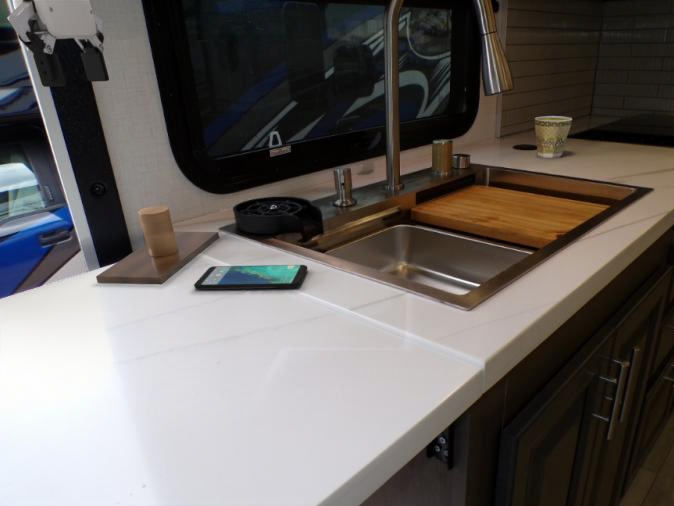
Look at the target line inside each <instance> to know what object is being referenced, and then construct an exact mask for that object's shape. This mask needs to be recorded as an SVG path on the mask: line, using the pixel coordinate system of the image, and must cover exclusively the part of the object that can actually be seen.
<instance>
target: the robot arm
mask: <svg viewBox="0 0 674 506" xmlns="http://www.w3.org/2000/svg"><path fill="white" fill-rule="evenodd" d="M11 1H12V5H13V9H14V10H13V11H12V12H11V13H10V14H9V15H8V16H7V20H8V22H9V23H10V25H11V26H12V29H14V31H15V32H16V34H17V37H18V39H19V40H20V42H21V43H22V44H23V45H24V46H25V47H26V50H27V52H28V54H30V55H31V56H32V57H33V61H34V65H35V66H36V67H35V68H36V69H37V70H36V71H37V73H38V76H39V79H40V83H41V86H43V88H54V87H55V88H56V87H58V88H59V87H61V88H62V87H66V85H67V82H66V78H65V74H64V72H63V68H62V65H61V61H60V58H59V55H58V53H54V49H55V45H56V40H67V39H74V41H75V42H76V43H77V45H78V46H79V47H80V49H81V50H82V51H83V52H80V57H81V60H82V63H83V67H84V71H85V74H86V79H87V81H89V82H90V83H91V82H109V81H110V76H109V72H108V68H107V64H106V61H105V57H104V51H105V47H104V40H105V36H104V22H103V20H102V19H101V18H100V17H99V16H97V15H96V13H94V12H93V9H92V5H91V1H90V0H11Z"/></svg>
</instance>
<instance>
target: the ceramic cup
mask: <svg viewBox="0 0 674 506" xmlns="http://www.w3.org/2000/svg"><path fill="white" fill-rule="evenodd" d="M572 122H573V118H572V117H569V116H561V115H559V116H558V115H545V116H538V117H534V130H535V138H536V152H537V156H538V157H542V158H549V159H550V158H551V159H552V158H553V159H554V158H560V157H562V155H563V152H564V149H565V145H566V141H567V138H568V135H569V132H570V129H571V126H572Z"/></svg>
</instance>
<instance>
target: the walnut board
mask: <svg viewBox="0 0 674 506" xmlns="http://www.w3.org/2000/svg"><path fill="white" fill-rule="evenodd" d="M174 234H175V238H176V243H177V247H178V251H177V252H175V253H174V254H171V255H167V256H162V257H153V256H150V255H149V253H148V249H147V245H146V243H145V244H144V245H142V246H141V247H139V248H137V249H136V250H135V251H132V252H131V253H129V254H128V255H126V256H125V257H124V258H122V259H120V260H119V261H117V262H116V263H114V264H112V266H109V267H108V268H107V269H105V270H104V271H102V272H100V273H99V274H97V275H96V276H95V278H96V282H97V283H99V284H100V283H103V284H105V283H106V284H150V285H151V284H153V285H162V284H164V283H165V282H166V281H167V280H168V279H170V278H171V277H172V276H173V275H174V274H176V273H177V272H178V271H179V270H181V269H182V268H183V267H185V266H186V265H187V264H189V262H190V261H192V260H193V259H194V258H195V257H197V256H199V254H201V253H202V252H203V251H204V250H205V249H206V248H208V247H209V246H210V245H212V244H213V243H214V242H215V241H216V240H217V239H219V238H220V235H219V231H174Z"/></svg>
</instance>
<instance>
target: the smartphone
mask: <svg viewBox="0 0 674 506" xmlns="http://www.w3.org/2000/svg"><path fill="white" fill-rule="evenodd" d="M307 270H308V265H306V264H271V265H270V264H269V265H268V264H263V265H262V264H261V265H213V266H210V267H208V268H207V269H206V271H205V272H204V273H203V274H202V275H201V276H200V277H199V278H198V279H197V280H196V281H195V282H194V284H193V287H194V288H195V289H197V290H221V289H223V290H225V289H227V290H228V289H229V290H231V289H232V290H233V289H289V288H290V289H291V288H293V289H294V288H298V287H299V286H300V285H301V283H302V281H303V279H304V277H305V275H306V273H307Z"/></svg>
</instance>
